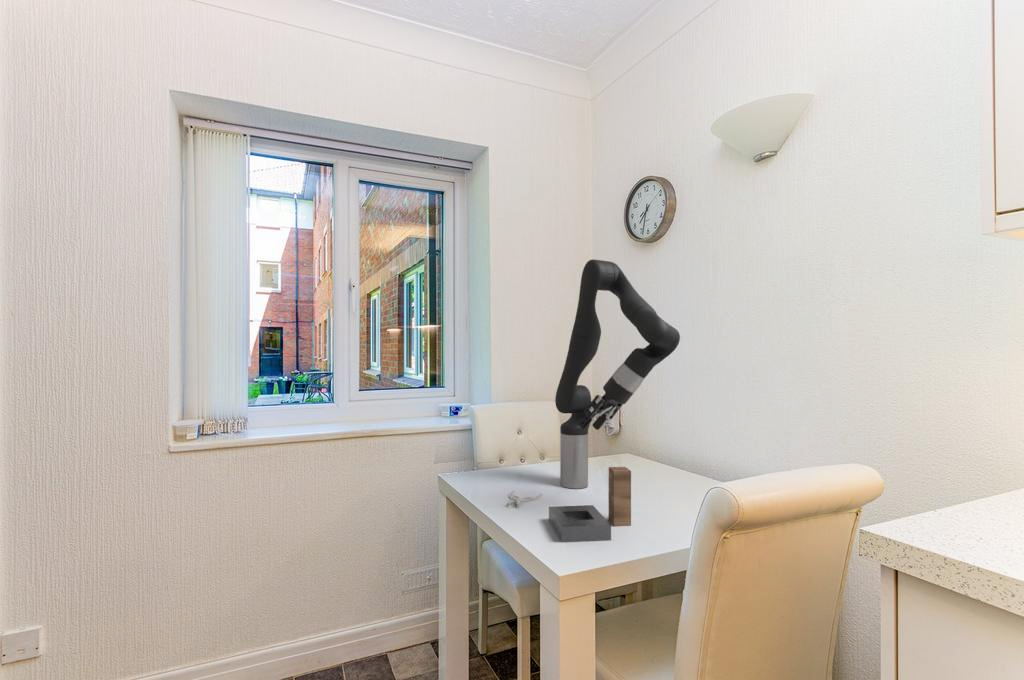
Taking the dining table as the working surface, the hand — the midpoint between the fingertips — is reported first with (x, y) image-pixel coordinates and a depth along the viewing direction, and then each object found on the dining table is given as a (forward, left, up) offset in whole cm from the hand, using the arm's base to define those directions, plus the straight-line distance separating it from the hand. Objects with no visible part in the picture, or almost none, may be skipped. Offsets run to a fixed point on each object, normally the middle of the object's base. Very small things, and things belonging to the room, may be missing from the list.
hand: (588, 427), depth 137 cm
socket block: (+14, -7, -23) cm, 28 cm away
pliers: (-11, -18, -24) cm, 32 cm away
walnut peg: (+11, +5, -23) cm, 26 cm away
